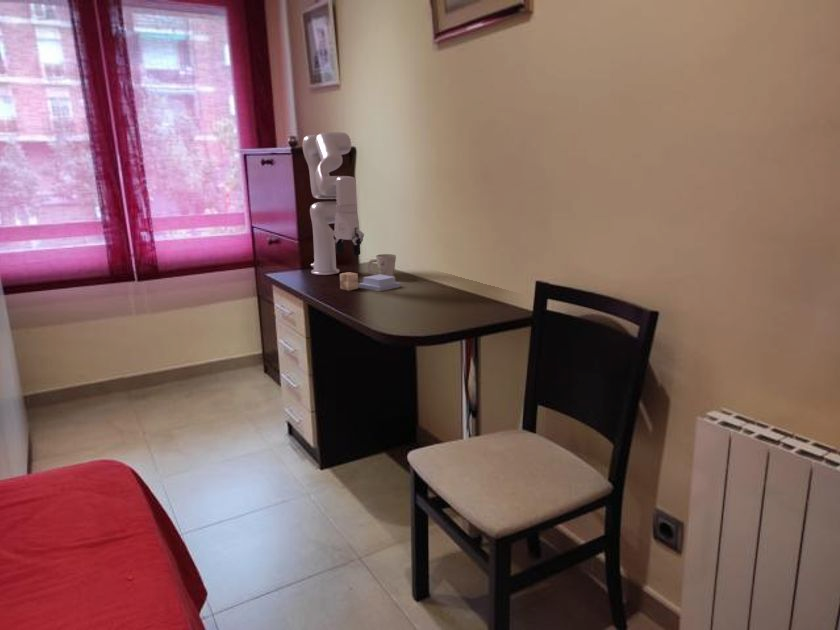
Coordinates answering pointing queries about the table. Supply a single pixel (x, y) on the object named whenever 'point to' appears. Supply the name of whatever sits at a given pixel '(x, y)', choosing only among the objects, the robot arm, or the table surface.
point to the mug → (384, 264)
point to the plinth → (379, 282)
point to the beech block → (349, 281)
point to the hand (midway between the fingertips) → (348, 254)
